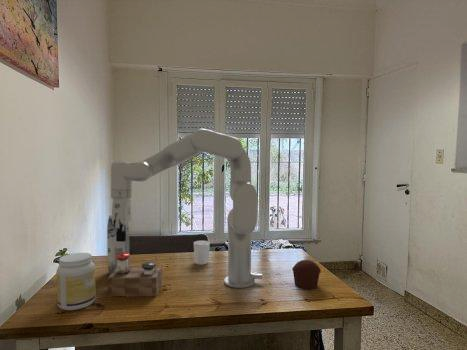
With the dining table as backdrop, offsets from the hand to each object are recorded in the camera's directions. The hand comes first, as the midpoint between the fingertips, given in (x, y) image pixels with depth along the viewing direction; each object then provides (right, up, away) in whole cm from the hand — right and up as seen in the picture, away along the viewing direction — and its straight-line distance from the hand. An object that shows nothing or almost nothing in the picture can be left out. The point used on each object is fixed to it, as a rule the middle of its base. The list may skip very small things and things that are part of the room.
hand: (121, 240), depth 126 cm
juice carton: (-7, -19, +19) cm, 28 cm away
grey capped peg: (+10, -19, +2) cm, 22 cm away
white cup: (+28, -18, +34) cm, 48 cm away
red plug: (0, -15, +1) cm, 15 cm away
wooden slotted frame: (+5, -20, +1) cm, 20 cm away
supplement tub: (-12, -20, -10) cm, 26 cm away
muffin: (+73, -20, +7) cm, 76 cm away
